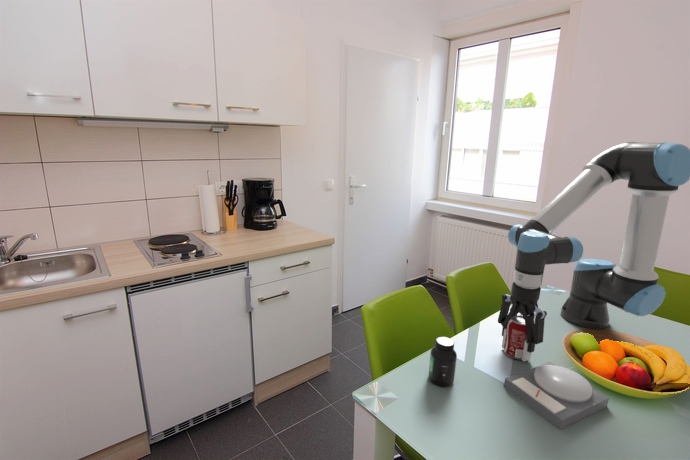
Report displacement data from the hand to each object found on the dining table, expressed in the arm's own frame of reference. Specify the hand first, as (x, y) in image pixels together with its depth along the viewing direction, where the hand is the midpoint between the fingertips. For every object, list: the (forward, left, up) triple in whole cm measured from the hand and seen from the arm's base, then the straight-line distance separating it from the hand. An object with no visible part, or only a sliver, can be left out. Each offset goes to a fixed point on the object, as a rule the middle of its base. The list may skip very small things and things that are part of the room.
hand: (515, 353), depth 110 cm
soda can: (0, 0, -1) cm, 1 cm away
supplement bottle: (+29, 0, -1) cm, 29 cm away
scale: (+6, +17, -1) cm, 18 cm away
